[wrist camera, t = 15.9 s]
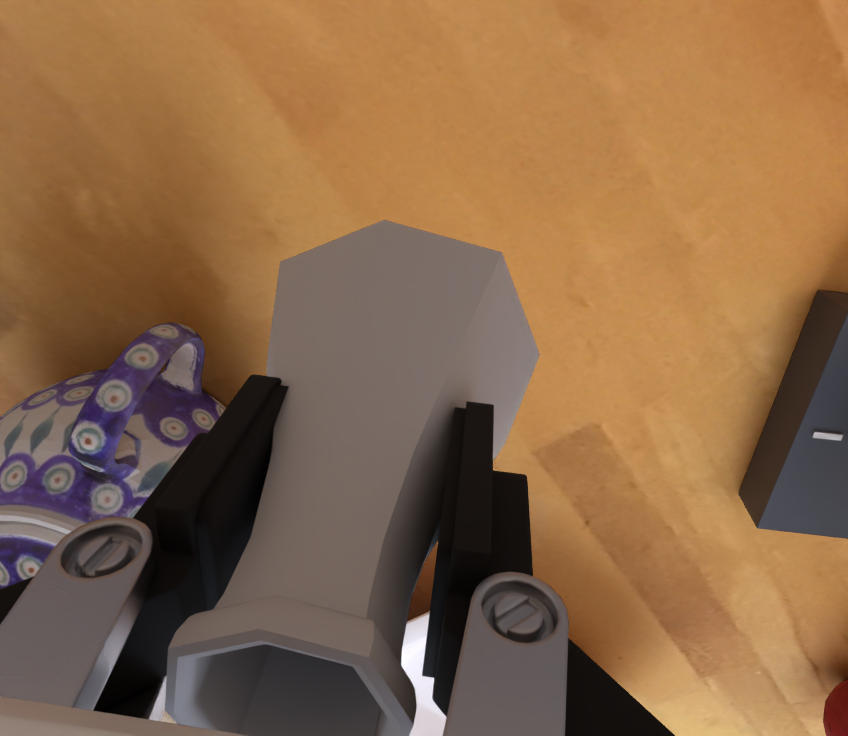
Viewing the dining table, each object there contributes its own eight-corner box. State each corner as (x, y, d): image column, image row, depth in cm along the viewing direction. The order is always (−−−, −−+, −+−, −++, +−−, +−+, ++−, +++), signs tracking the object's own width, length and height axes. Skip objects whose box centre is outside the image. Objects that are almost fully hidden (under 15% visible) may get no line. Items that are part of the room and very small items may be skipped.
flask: (293, 462, 18) (106, 846, 10) (241, 224, 15) (-118, 484, 6) (538, 463, 17) (575, 890, 9) (540, 208, 14) (606, 491, 5)
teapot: (106, 214, 32) (-161, 330, 19) (364, 348, 35) (283, 535, 21) (24, 519, 44) (-178, 723, 31) (222, 605, 46) (112, 831, 33)
